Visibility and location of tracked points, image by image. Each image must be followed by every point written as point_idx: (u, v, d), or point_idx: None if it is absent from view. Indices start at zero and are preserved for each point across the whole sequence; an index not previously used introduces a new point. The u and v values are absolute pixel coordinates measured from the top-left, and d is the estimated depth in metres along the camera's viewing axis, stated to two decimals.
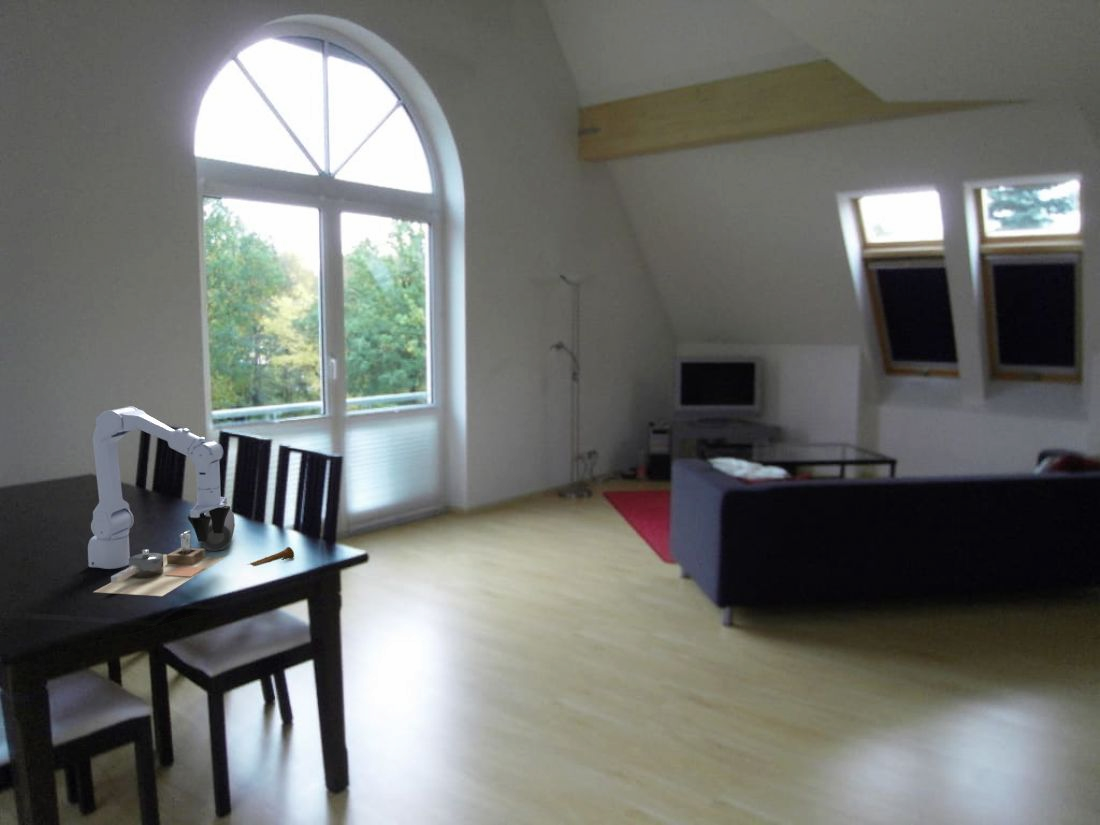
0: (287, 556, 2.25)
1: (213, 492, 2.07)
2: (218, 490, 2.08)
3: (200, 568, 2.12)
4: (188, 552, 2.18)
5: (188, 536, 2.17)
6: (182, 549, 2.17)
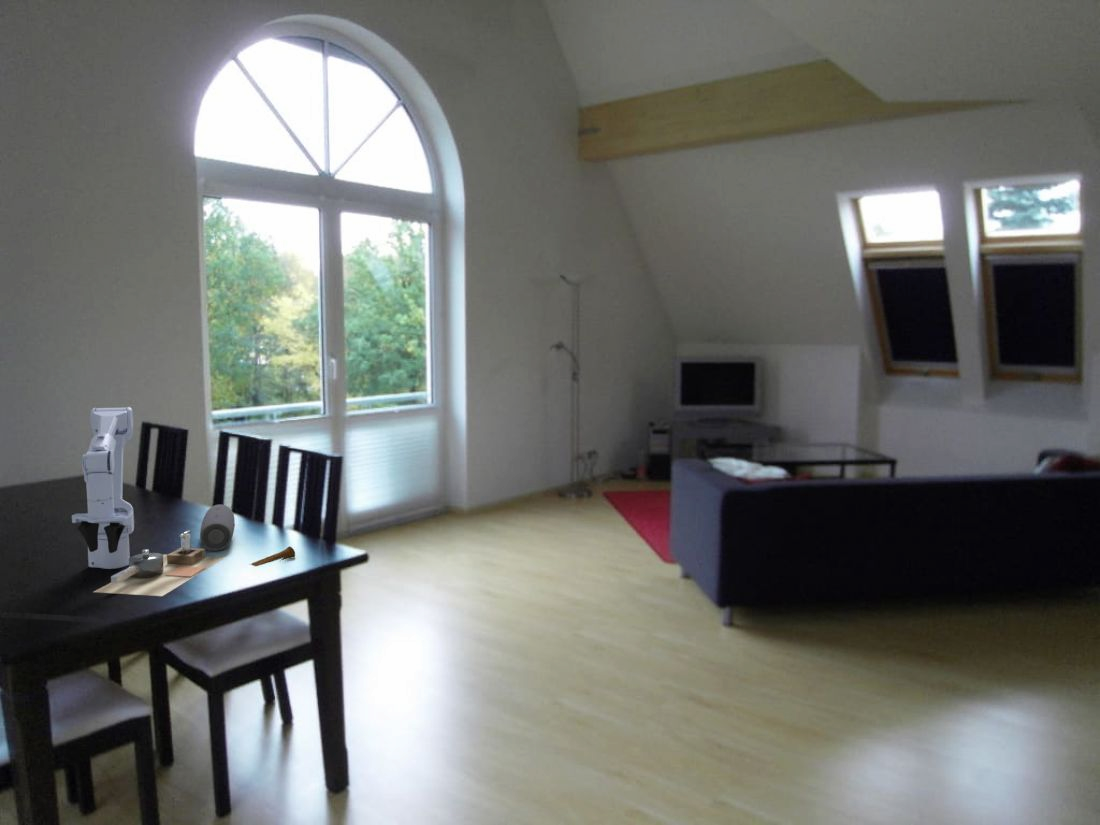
0: (288, 555, 2.25)
1: (88, 503, 1.95)
2: (92, 504, 1.95)
3: (200, 568, 2.12)
4: (188, 552, 2.18)
5: (188, 536, 2.17)
6: (182, 549, 2.17)
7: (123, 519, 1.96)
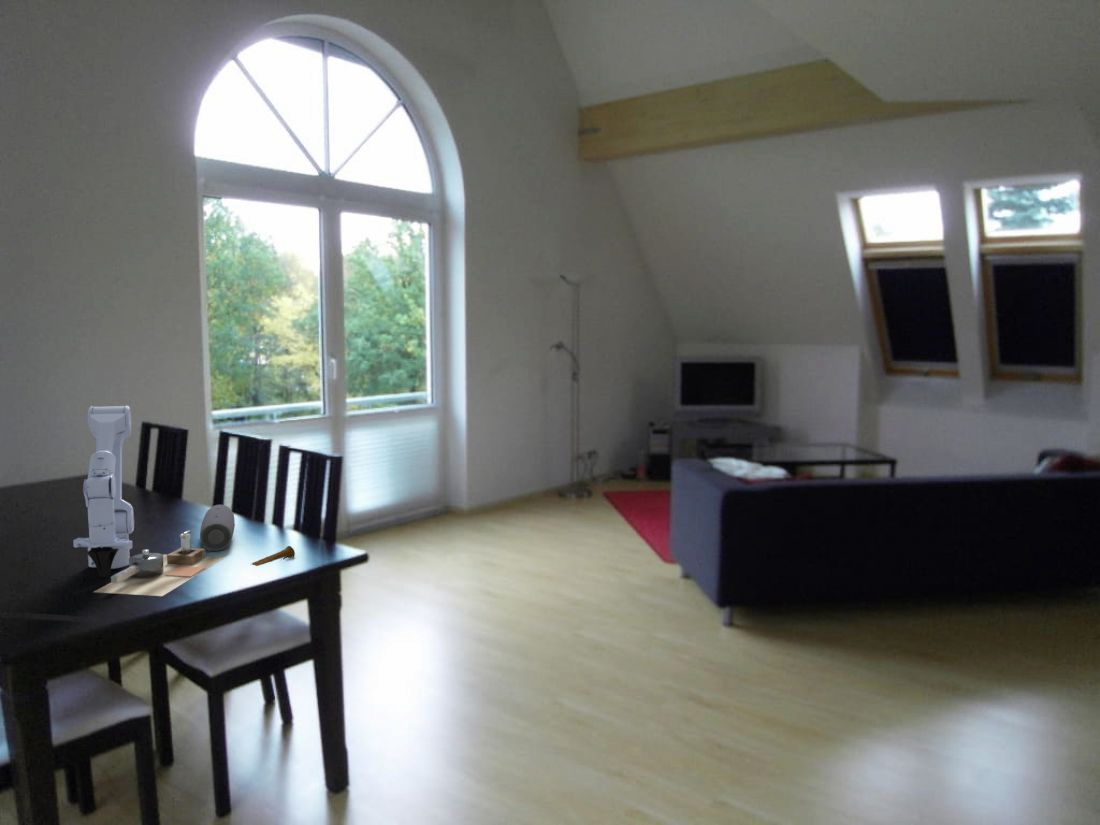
0: (288, 555, 2.25)
1: (89, 528, 1.96)
2: (93, 529, 1.95)
3: (200, 568, 2.12)
4: (188, 552, 2.18)
5: (188, 536, 2.17)
6: (182, 549, 2.17)
7: (124, 544, 1.97)
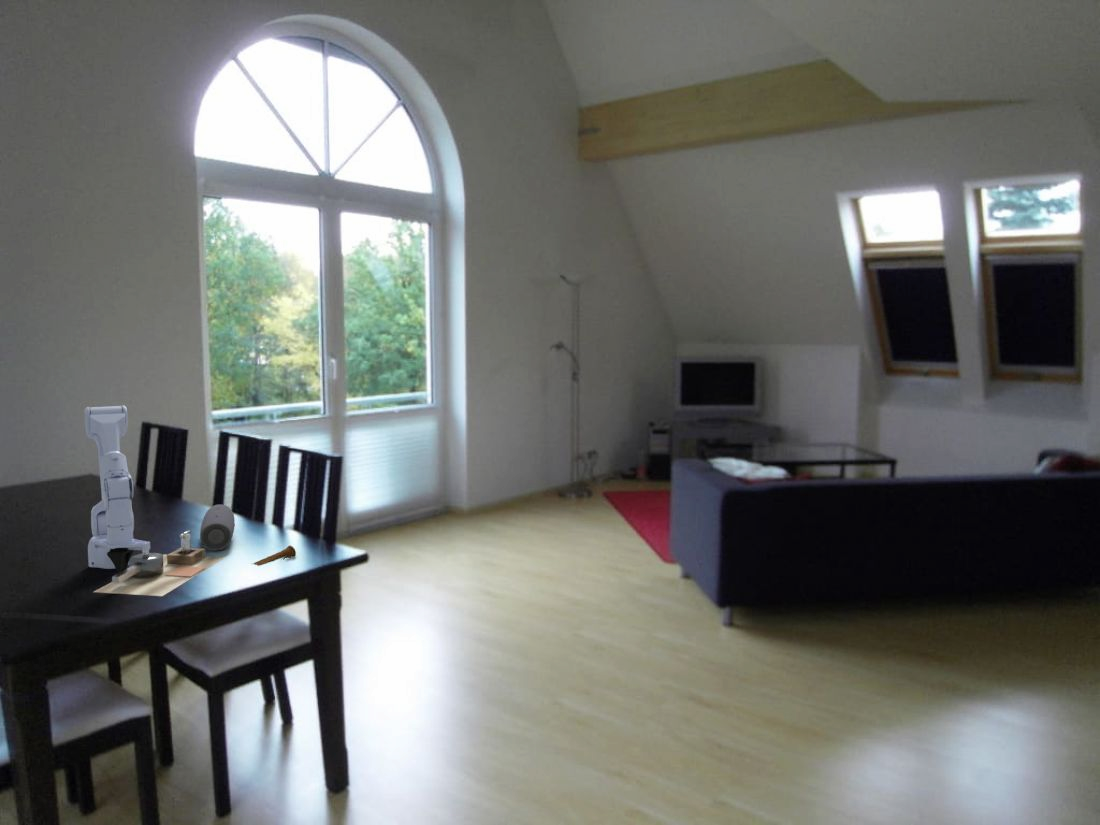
0: (289, 555, 2.26)
1: (107, 529, 1.96)
2: (111, 530, 1.95)
3: (200, 568, 2.12)
4: (188, 552, 2.18)
5: (188, 536, 2.17)
6: (182, 549, 2.17)
7: (142, 545, 1.96)
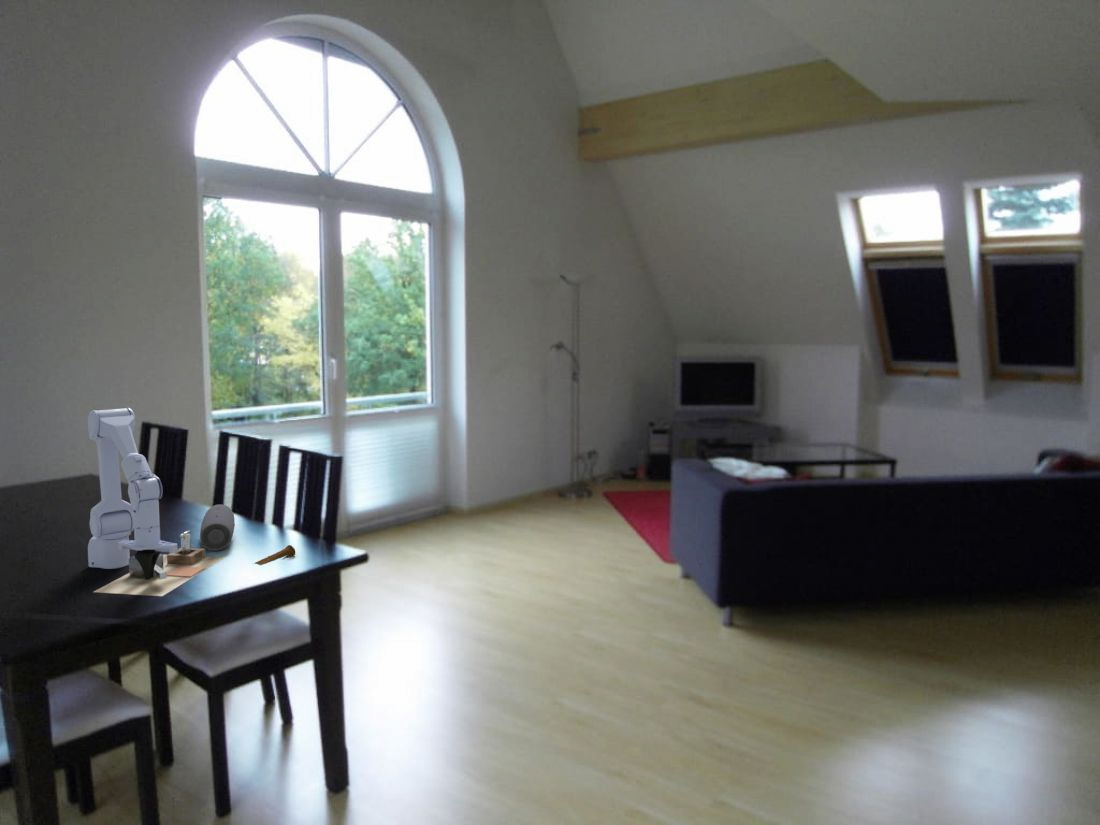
0: (289, 554, 2.26)
1: (134, 531, 1.95)
2: (139, 531, 1.94)
3: (200, 568, 2.12)
4: (188, 552, 2.18)
5: (188, 536, 2.17)
6: (182, 549, 2.17)
7: (170, 547, 1.96)
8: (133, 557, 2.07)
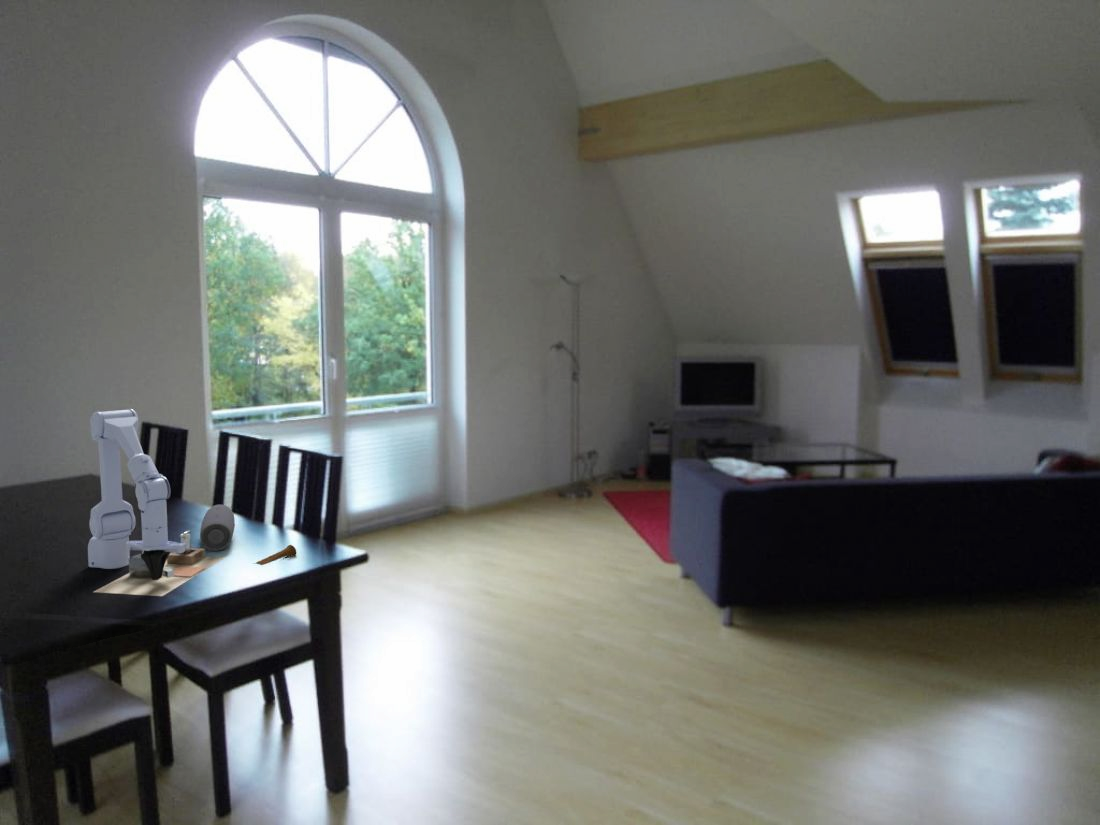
0: (290, 554, 2.26)
1: (142, 531, 1.95)
2: (147, 532, 1.94)
3: (200, 568, 2.12)
4: (188, 552, 2.18)
5: (188, 536, 2.17)
6: None
7: (177, 547, 1.96)
8: (132, 558, 2.06)
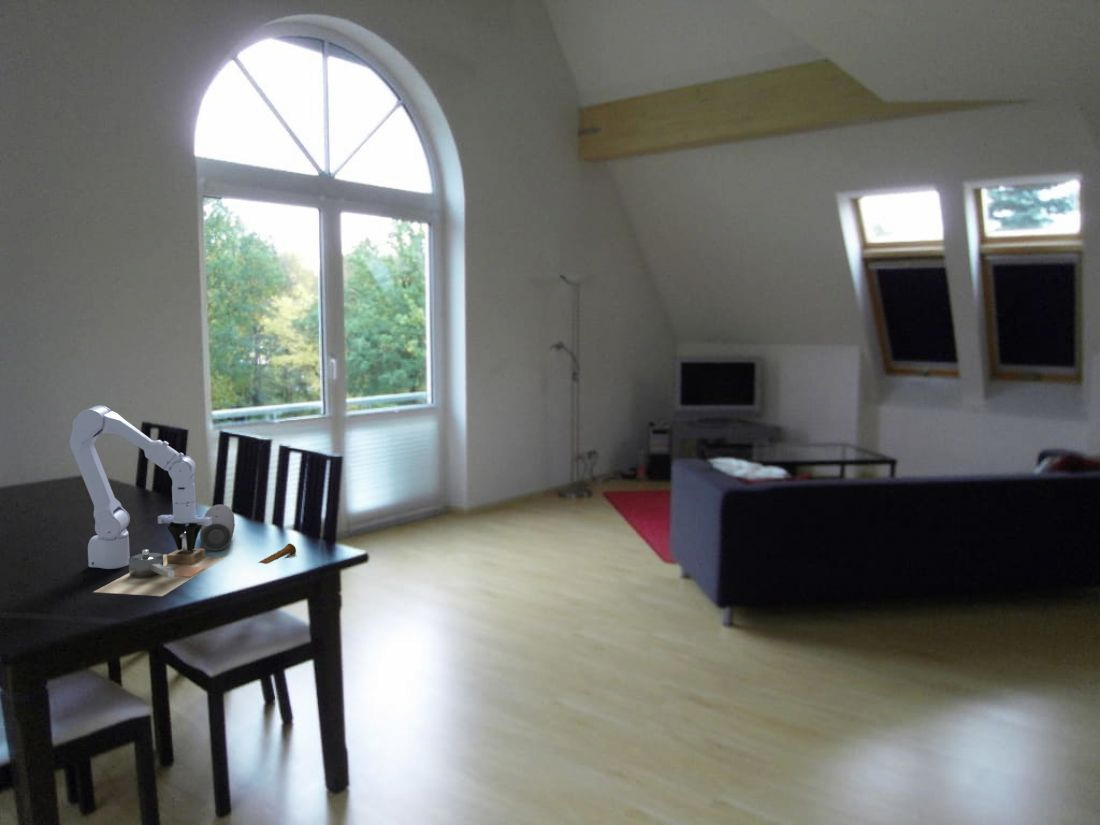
0: (290, 552, 2.28)
1: (173, 506, 2.15)
2: (177, 506, 2.14)
3: (200, 568, 2.12)
4: (188, 552, 2.18)
5: None
6: (182, 549, 2.17)
7: (205, 520, 2.16)
8: (132, 558, 2.06)
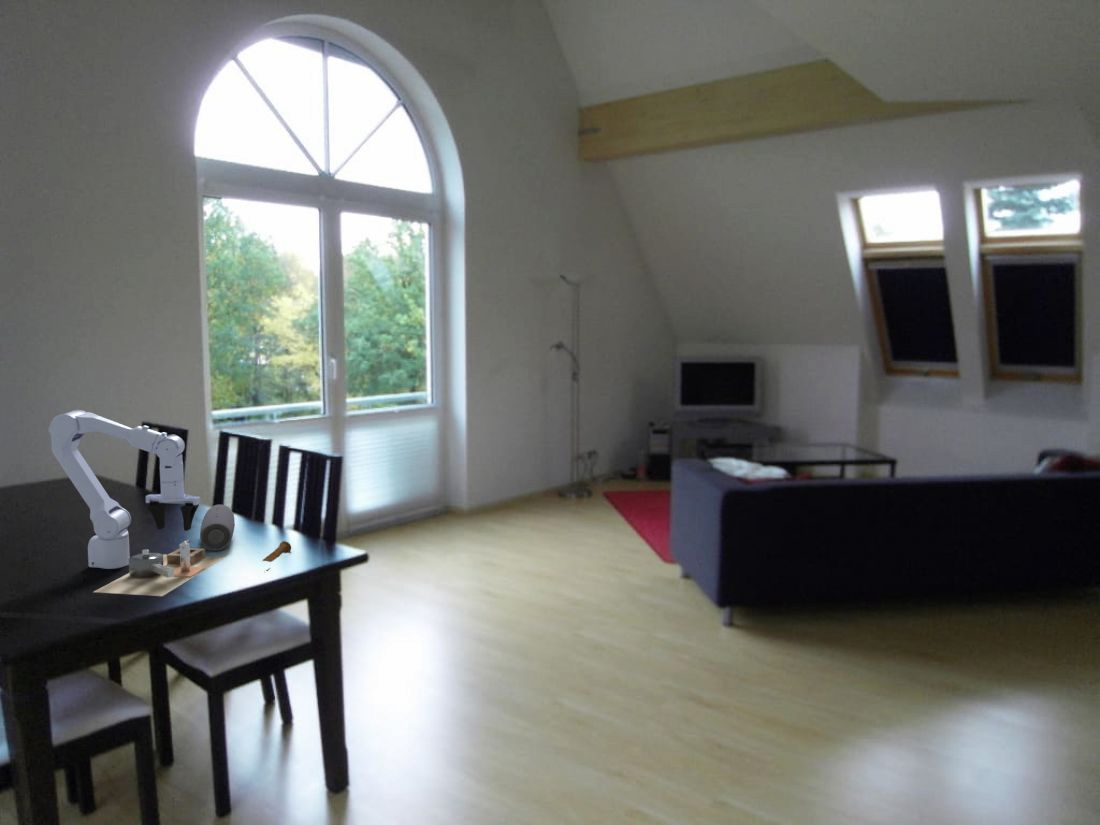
0: (286, 550, 2.30)
1: (161, 485, 2.12)
2: (165, 485, 2.11)
3: (200, 568, 2.12)
4: (188, 562, 2.09)
5: (188, 545, 2.08)
6: (181, 559, 2.08)
7: (193, 499, 2.13)
8: (132, 558, 2.06)
